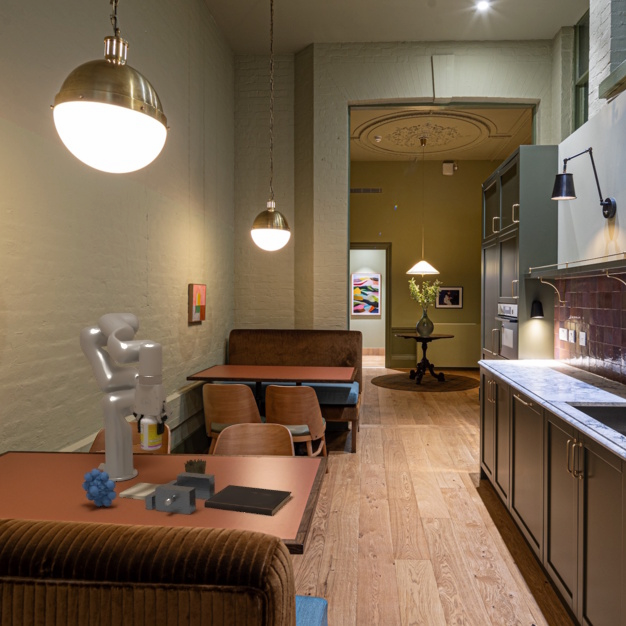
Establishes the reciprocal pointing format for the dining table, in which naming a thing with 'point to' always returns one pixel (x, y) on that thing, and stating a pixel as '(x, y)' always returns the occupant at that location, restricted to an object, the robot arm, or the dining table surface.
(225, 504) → the hardcover book
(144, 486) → the birch board
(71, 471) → the dining table surface
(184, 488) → the vise
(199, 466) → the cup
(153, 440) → the supplement bottle
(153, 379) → the robot arm
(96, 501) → the grapes
